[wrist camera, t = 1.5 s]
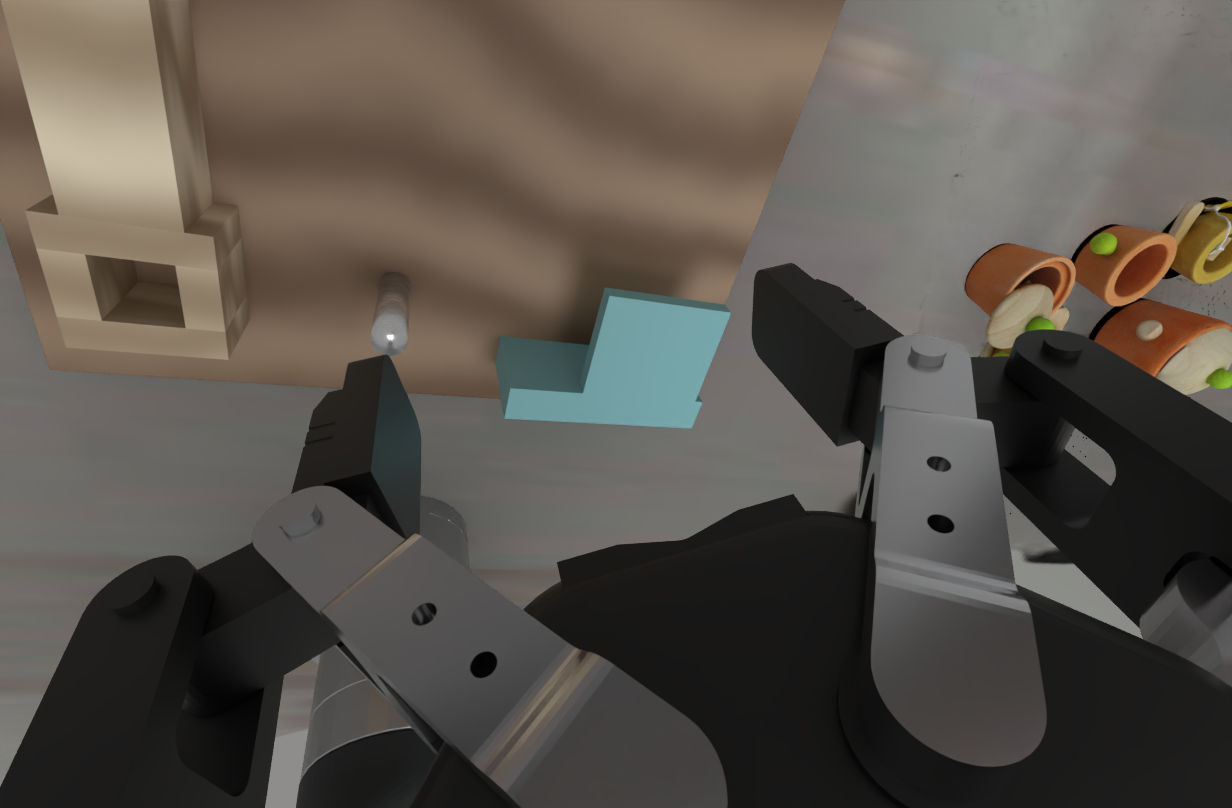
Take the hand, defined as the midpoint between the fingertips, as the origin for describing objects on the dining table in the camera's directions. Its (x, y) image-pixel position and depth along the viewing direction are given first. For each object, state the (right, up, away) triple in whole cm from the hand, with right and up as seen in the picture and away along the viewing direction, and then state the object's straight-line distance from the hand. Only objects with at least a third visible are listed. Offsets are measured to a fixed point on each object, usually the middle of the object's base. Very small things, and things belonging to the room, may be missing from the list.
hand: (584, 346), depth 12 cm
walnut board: (-8, +10, +17) cm, 21 cm away
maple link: (-19, +11, +11) cm, 25 cm away
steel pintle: (-11, +5, +18) cm, 22 cm away
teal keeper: (0, +4, +23) cm, 23 cm away
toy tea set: (+38, +8, +35) cm, 52 cm away
